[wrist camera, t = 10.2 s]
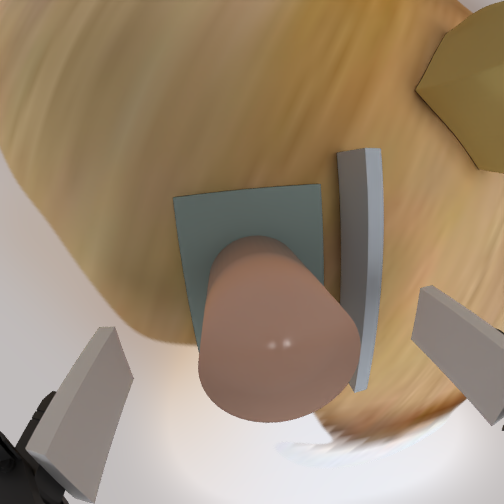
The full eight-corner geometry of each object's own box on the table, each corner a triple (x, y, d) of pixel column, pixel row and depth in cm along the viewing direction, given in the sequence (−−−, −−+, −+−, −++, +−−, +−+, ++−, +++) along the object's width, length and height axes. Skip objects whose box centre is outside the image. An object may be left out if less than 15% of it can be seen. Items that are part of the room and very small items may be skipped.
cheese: (502, 104, 17) (572, 99, 7) (476, 177, 19) (564, 191, 9) (442, 26, 15) (512, -6, 5) (405, 91, 16) (503, 60, 7)
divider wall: (336, 152, 17) (364, 147, 13) (350, 152, 17) (380, 148, 13) (336, 361, 21) (354, 392, 17) (347, 359, 21) (366, 389, 18)
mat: (174, 197, 17) (173, 197, 16) (317, 184, 18) (320, 184, 17) (202, 361, 20) (202, 366, 19) (319, 345, 21) (322, 349, 20)
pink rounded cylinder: (202, 241, 17) (183, 304, 9) (299, 230, 18) (367, 280, 9) (215, 327, 19) (213, 429, 10) (302, 316, 19) (351, 406, 11)
